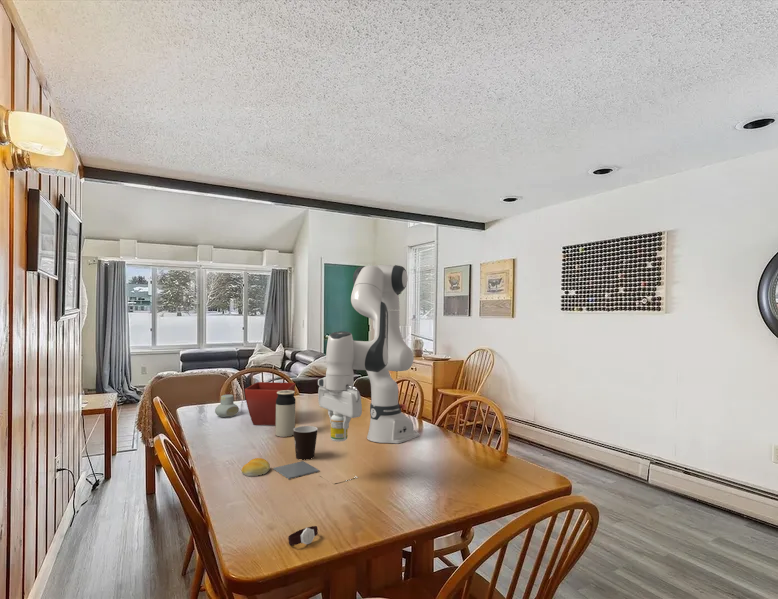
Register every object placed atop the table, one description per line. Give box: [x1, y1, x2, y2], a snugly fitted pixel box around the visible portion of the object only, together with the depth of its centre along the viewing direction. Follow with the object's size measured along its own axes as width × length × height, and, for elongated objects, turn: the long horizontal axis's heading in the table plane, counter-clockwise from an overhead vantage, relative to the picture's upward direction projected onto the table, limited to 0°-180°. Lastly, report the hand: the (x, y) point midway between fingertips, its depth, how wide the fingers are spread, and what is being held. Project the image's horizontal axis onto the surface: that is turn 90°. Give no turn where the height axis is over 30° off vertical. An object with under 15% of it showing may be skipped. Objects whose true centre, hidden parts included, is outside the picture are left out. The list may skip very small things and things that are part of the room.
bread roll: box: [241, 457, 271, 477], centre depth 148 cm, size 8×9×4 cm
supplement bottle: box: [330, 410, 348, 443], centre depth 145 cm, size 5×5×10 cm
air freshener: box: [214, 394, 240, 419], centre depth 221 cm, size 11×8×10 cm
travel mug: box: [275, 390, 296, 438], centre depth 191 cm, size 8×8×18 cm
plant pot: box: [244, 381, 296, 426], centre depth 211 cm, size 19×19×17 cm
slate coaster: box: [272, 460, 320, 480], centre depth 150 cm, size 11×11×1 cm
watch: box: [287, 525, 319, 546], centre depth 105 cm, size 8×5×4 cm, turn 139°
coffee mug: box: [293, 425, 318, 461], centre depth 165 cm, size 12×9×10 cm
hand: (339, 426), depth 145 cm, fingers closed on supplement bottle, 5 cm apart
